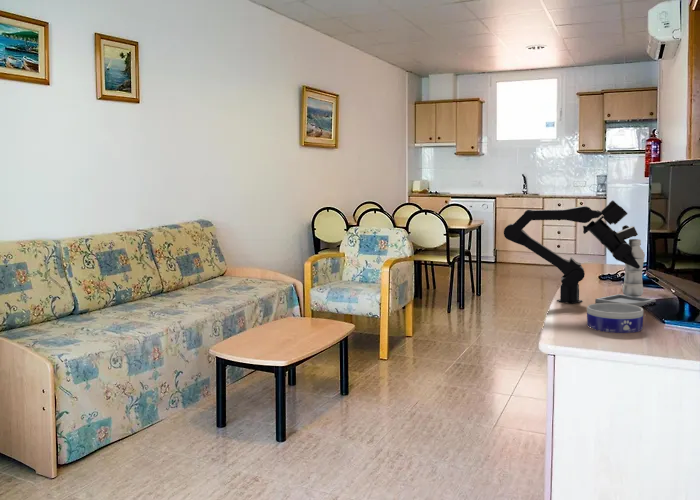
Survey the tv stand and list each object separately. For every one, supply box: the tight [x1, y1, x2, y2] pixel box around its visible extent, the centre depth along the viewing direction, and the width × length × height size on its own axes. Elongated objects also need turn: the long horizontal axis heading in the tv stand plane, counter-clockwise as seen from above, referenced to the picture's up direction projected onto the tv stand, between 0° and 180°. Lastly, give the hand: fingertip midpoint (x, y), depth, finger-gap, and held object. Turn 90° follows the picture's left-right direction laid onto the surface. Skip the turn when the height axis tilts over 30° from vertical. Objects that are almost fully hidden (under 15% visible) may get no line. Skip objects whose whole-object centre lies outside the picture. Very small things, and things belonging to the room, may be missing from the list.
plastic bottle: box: [622, 238, 646, 297], centre depth 211 cm, size 6×7×20 cm
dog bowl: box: [586, 303, 644, 334], centre depth 180 cm, size 15×15×6 cm
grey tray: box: [594, 293, 657, 308], centre depth 213 cm, size 14×14×2 cm
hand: (638, 266), depth 210 cm, fingers closed on plastic bottle, 6 cm apart
